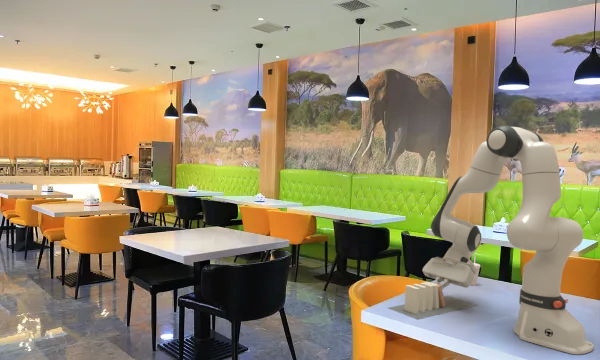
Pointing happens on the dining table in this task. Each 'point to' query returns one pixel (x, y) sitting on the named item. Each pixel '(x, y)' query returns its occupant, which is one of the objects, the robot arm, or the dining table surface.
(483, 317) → the dining table surface
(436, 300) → the ivory domino
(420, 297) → the ivory domino
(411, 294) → the ivory domino
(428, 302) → the ivory domino
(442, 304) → the terracotta domino
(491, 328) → the dining table surface
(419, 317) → the rubber mat
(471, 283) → the smoothie
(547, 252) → the robot arm
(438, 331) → the dining table surface
